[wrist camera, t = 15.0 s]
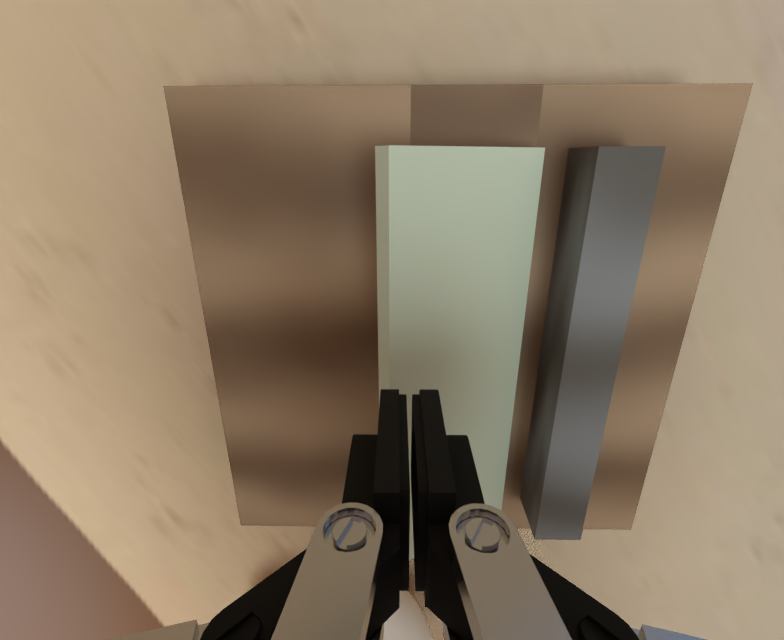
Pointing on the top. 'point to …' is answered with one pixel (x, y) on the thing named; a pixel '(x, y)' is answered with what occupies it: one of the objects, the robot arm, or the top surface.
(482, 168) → the flap
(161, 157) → the top surface
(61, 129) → the top surface
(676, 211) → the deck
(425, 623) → the white decorative knot
